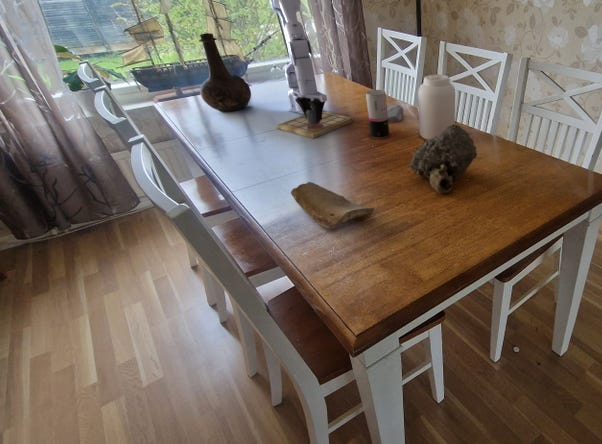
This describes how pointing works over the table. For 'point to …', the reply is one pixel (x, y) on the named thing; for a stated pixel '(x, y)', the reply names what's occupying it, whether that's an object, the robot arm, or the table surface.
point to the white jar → (436, 105)
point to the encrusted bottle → (444, 158)
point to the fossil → (327, 205)
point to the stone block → (395, 113)
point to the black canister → (311, 116)
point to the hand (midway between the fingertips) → (313, 118)
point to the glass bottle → (222, 81)
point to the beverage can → (377, 113)
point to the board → (315, 125)
